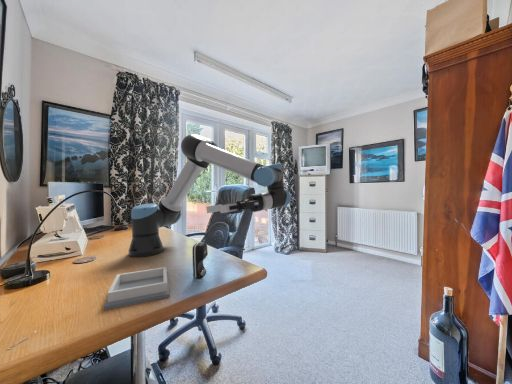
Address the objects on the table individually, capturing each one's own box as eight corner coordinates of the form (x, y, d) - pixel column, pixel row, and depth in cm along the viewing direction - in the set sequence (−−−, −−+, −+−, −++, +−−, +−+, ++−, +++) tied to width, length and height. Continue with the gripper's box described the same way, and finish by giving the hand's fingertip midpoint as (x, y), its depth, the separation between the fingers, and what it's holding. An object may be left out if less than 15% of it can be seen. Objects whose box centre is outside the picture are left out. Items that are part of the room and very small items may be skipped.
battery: (203, 279, 76) (202, 246, 76) (192, 279, 76) (191, 246, 76) (208, 271, 83) (208, 240, 82) (198, 271, 83) (198, 241, 83)
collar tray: (116, 282, 74) (116, 272, 74) (167, 274, 81) (167, 264, 81) (104, 310, 58) (103, 297, 58) (169, 296, 64) (169, 285, 64)
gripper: (278, 210, 84) (228, 220, 73) (246, 210, 106) (203, 218, 94) (276, 191, 85) (225, 198, 73) (244, 195, 106) (201, 201, 94)
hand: (213, 209), depth 84 cm, fingers open, 13 cm apart
